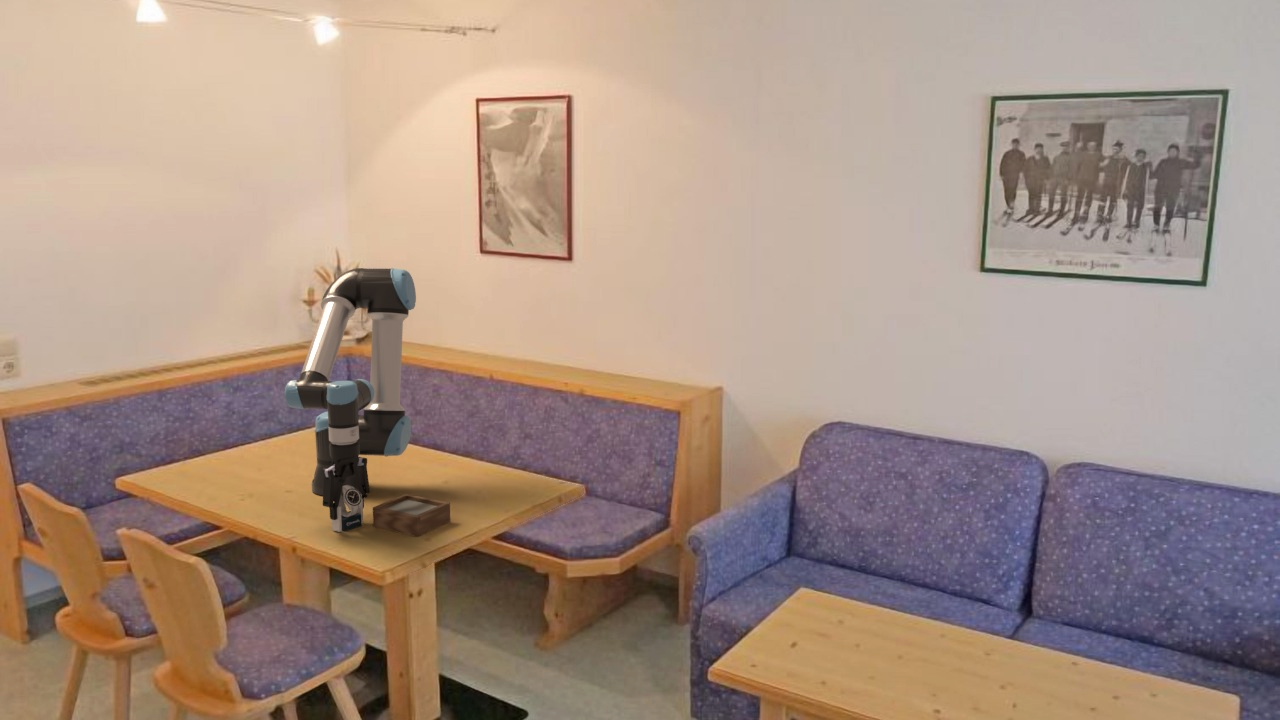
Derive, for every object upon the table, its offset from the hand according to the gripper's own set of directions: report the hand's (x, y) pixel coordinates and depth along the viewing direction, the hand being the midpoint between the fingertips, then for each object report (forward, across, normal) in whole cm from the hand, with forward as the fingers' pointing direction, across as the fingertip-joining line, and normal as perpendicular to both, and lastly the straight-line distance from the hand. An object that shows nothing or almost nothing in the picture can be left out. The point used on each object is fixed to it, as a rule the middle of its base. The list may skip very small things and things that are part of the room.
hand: (347, 525), depth 261 cm
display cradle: (0, +10, -13) cm, 16 cm away
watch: (0, 0, 0) cm, 0 cm away
